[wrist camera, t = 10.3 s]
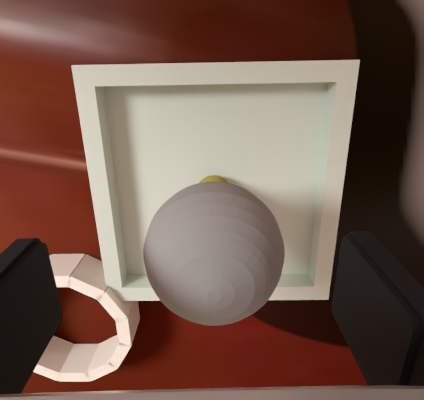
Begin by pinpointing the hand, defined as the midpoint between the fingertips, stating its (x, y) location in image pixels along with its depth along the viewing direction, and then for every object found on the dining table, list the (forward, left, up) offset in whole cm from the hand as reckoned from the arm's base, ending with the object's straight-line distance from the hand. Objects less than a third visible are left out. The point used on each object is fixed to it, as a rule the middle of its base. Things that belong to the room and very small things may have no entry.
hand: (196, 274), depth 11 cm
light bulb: (0, 0, -10) cm, 10 cm away
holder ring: (+10, -9, -10) cm, 17 cm away
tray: (+1, +1, -10) cm, 10 cm away
